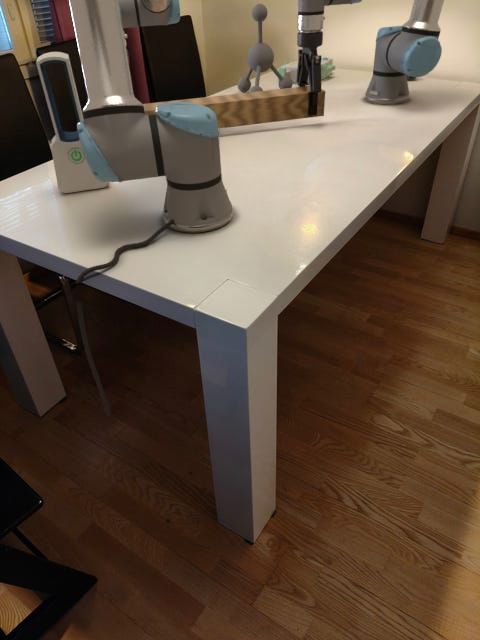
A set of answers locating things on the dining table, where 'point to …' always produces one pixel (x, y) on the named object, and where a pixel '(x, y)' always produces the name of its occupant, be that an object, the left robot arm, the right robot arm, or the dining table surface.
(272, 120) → the long wooden beam
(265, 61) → the molecular model
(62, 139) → the electronic device
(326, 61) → the clip lid food container
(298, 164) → the dining table surface
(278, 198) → the dining table surface
